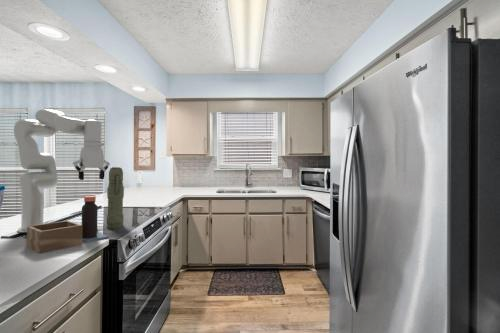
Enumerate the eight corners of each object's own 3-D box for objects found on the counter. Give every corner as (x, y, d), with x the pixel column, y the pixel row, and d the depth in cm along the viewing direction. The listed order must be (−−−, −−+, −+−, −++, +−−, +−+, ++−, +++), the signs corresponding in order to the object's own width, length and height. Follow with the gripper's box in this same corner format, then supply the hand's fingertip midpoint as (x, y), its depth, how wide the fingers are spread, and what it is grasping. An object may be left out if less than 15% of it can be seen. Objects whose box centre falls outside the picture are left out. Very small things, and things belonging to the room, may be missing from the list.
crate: (26, 246, 124) (27, 226, 123) (67, 238, 137) (67, 220, 137) (39, 253, 115) (40, 231, 115) (82, 244, 128) (82, 225, 128)
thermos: (119, 224, 171) (120, 167, 170) (126, 227, 162) (127, 167, 162) (104, 225, 165) (105, 167, 165) (109, 229, 156) (110, 167, 156)
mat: (74, 238, 138) (74, 236, 138) (95, 234, 147) (95, 232, 147) (85, 242, 131) (85, 240, 131) (107, 238, 140) (107, 236, 140)
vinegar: (83, 235, 140) (84, 195, 140) (98, 234, 142) (99, 195, 142) (79, 238, 134) (80, 197, 133) (95, 238, 136) (96, 197, 135)
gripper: (105, 146, 148) (105, 178, 148) (70, 144, 133) (69, 179, 134) (113, 146, 143) (112, 179, 144) (77, 143, 129) (76, 180, 129)
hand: (91, 179), depth 139 cm, fingers open, 9 cm apart
